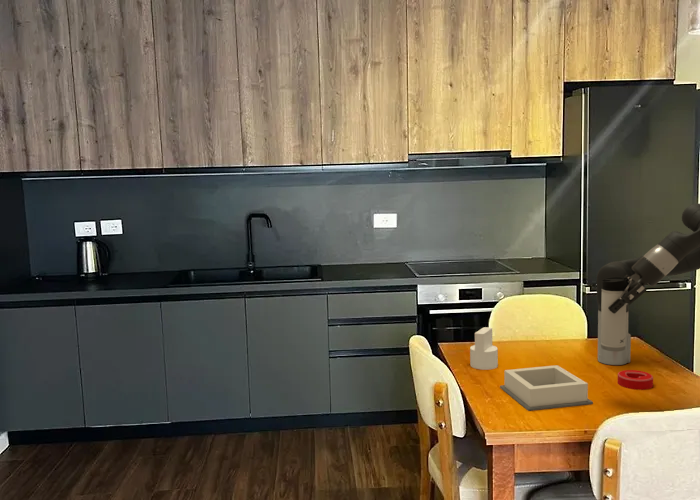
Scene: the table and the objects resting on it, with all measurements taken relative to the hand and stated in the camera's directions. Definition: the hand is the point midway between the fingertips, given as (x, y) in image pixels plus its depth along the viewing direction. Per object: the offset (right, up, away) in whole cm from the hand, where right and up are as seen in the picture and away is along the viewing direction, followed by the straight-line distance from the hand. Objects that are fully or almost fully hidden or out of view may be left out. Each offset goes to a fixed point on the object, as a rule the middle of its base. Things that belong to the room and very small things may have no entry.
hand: (607, 308), depth 172 cm
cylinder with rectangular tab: (-26, -23, +38) cm, 51 cm away
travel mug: (+2, -11, +1) cm, 12 cm away
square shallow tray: (-15, -26, +9) cm, 31 cm away
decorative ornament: (+14, -25, +15) cm, 32 cm away
